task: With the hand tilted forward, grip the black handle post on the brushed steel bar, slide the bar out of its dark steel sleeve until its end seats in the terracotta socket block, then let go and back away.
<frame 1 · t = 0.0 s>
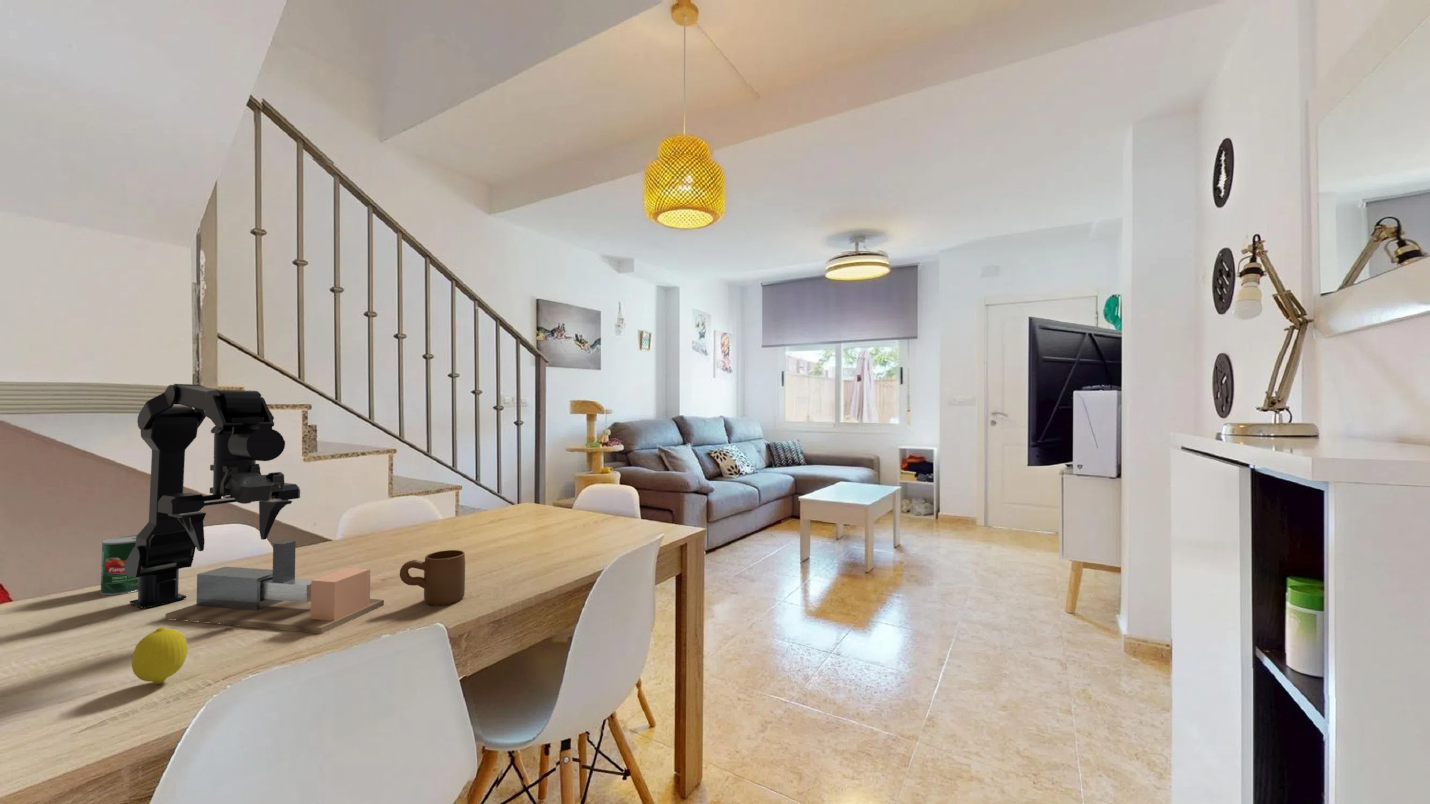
hand: (233, 544, 97), 15 cm above the table, tool pointing down, fingers open, 9 cm apart
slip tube: (264, 568, 105), point 8 cm above the table, slide at 0.0 cm
sleeve: (240, 587, 105), on the base board, point 4 cm above the table
canned tomato: (128, 590, 116), on the table
mug: (432, 603, 110), on the table
base board: (278, 611, 104), on the table
lemon: (159, 685, 77), on the table
socket block: (341, 593, 101), on the base board, point 4 cm above the table
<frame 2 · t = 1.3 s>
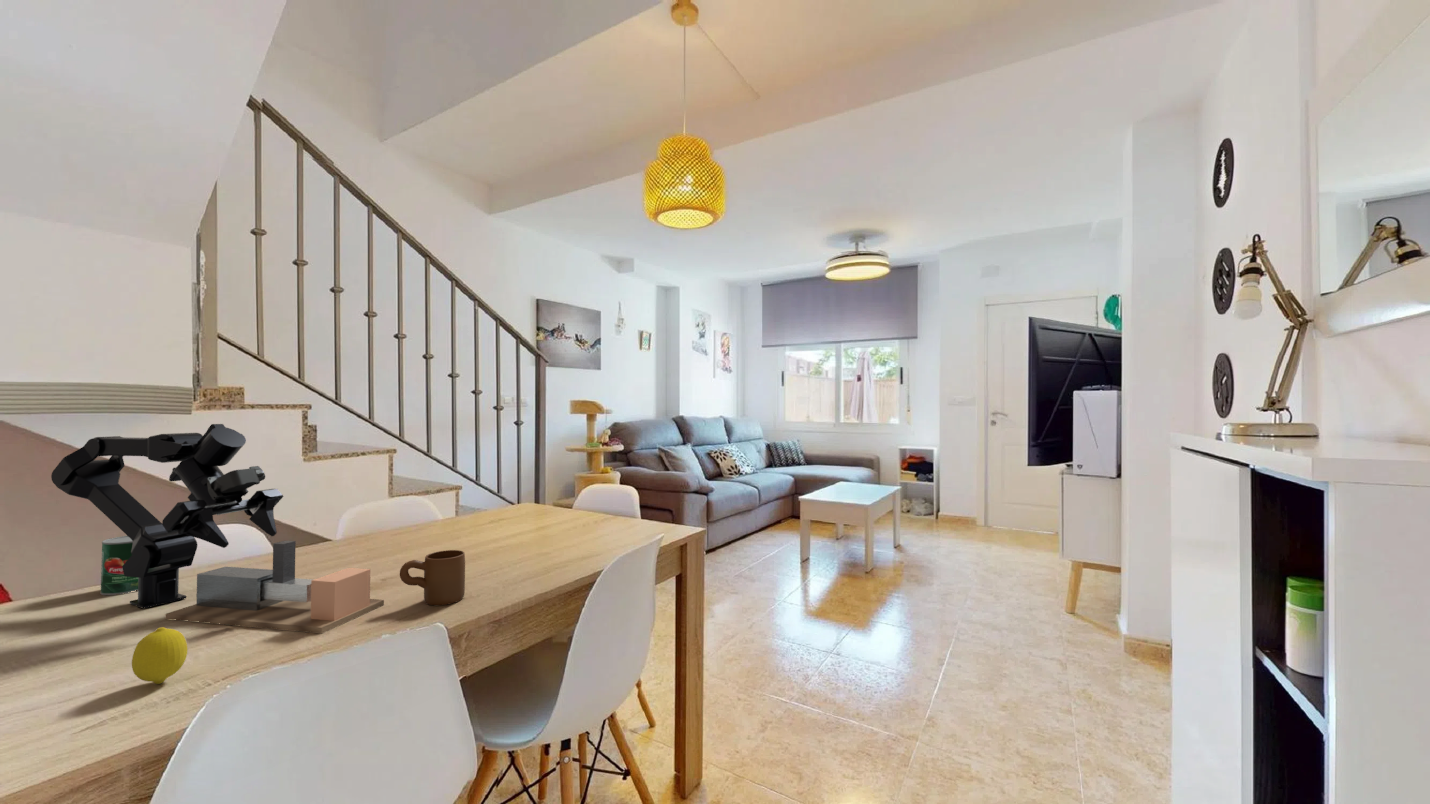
hand: (251, 540, 105), 14 cm above the table, tool tilted 45°, fingers open, 9 cm apart
nothing on the table moved.
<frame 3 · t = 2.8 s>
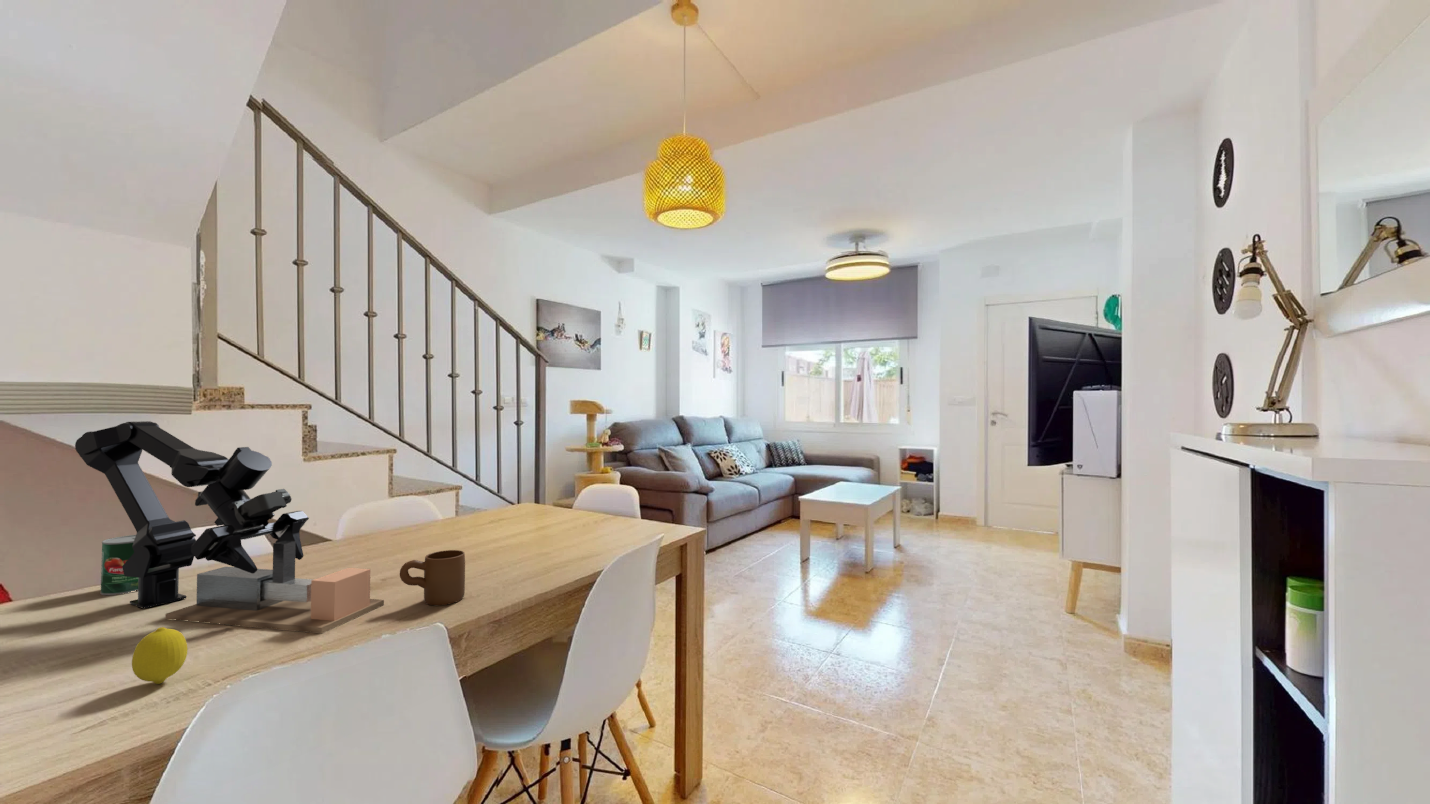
hand: (279, 564, 104), 9 cm above the table, tool tilted 45°, fingers open, 9 cm apart
nothing on the table moved.
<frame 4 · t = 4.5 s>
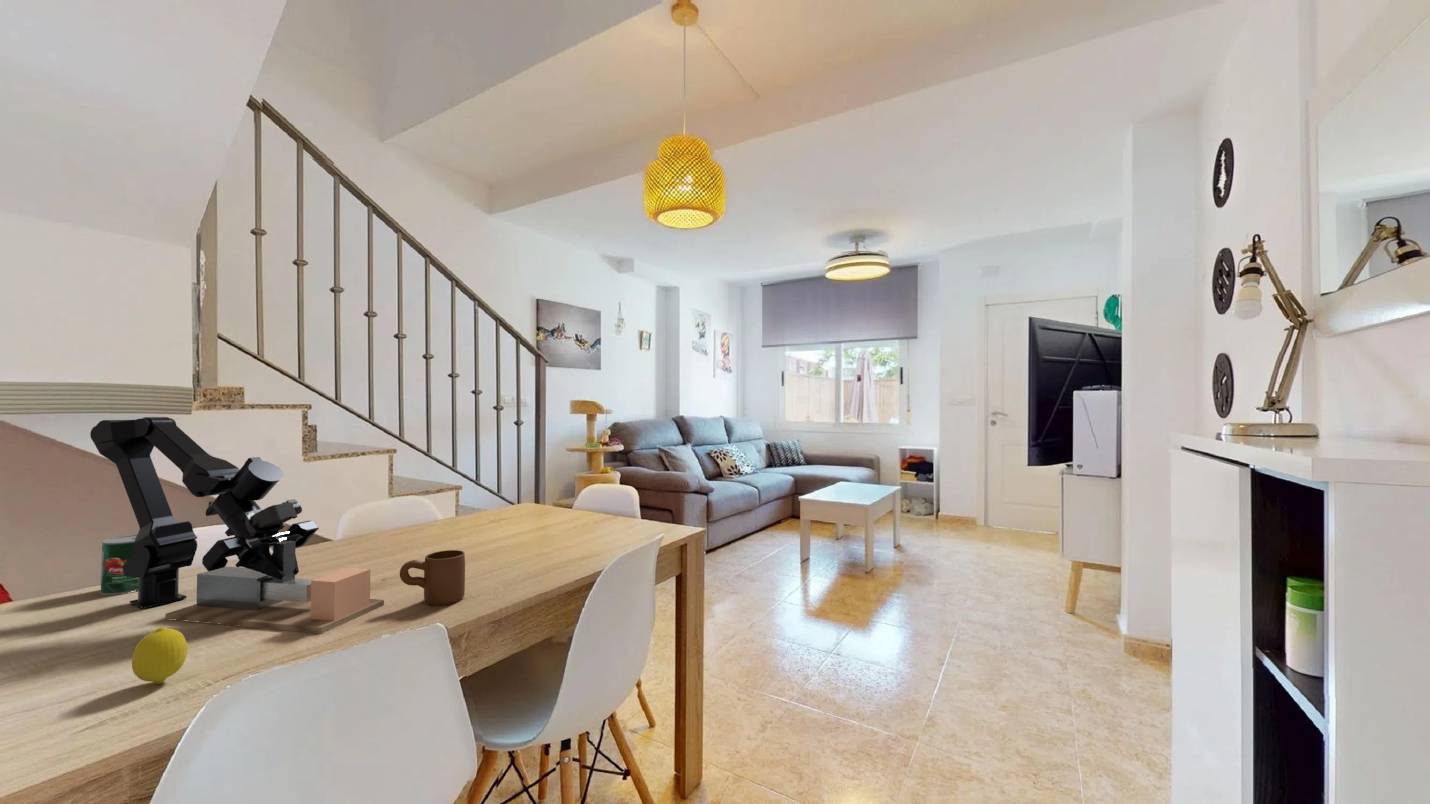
hand: (289, 575, 103), 7 cm above the table, tool tilted 45°, fingers closed on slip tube, 2 cm apart
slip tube: (264, 568, 105), point 8 cm above the table, slide at 0.0 cm, touching gripper
everything else where it was.
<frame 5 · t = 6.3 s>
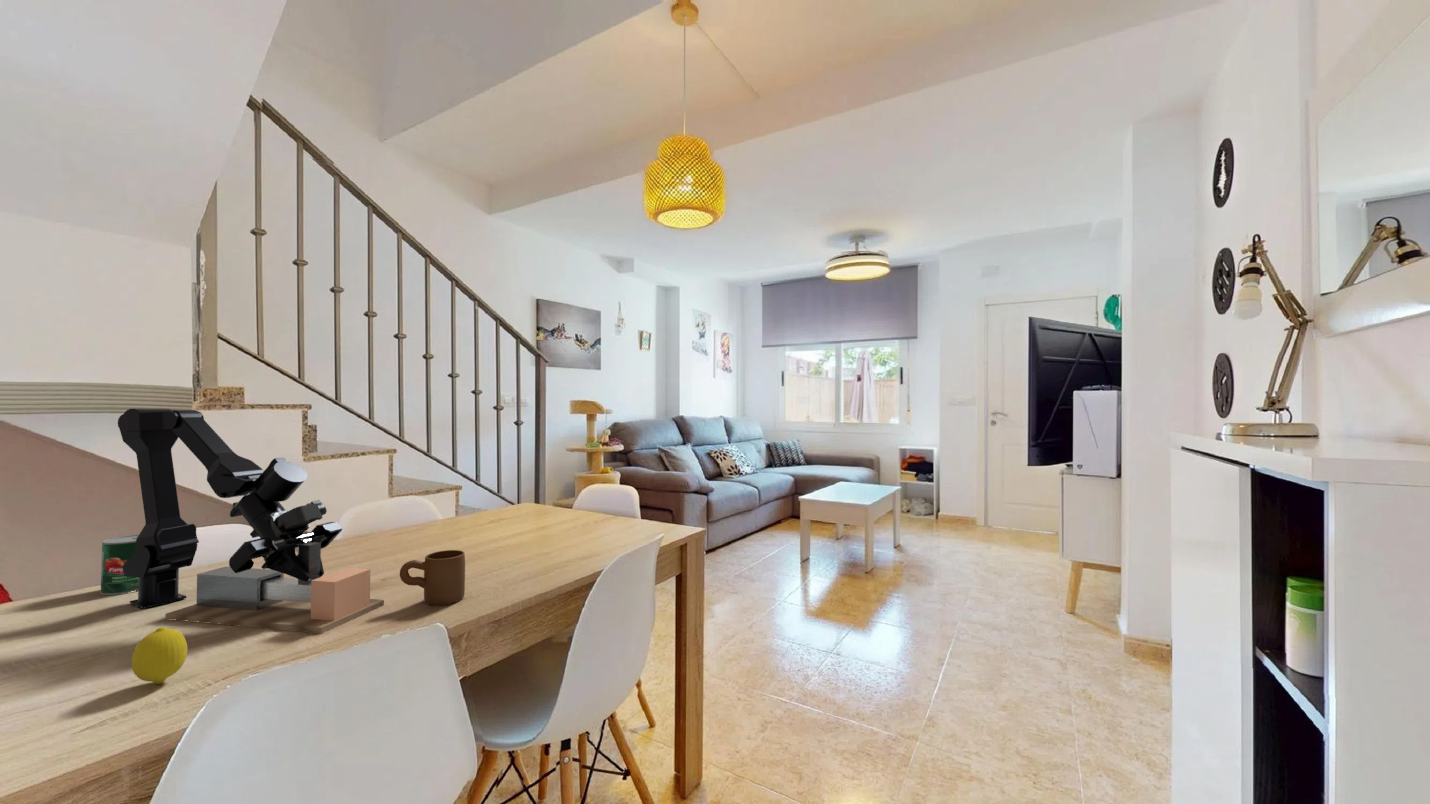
hand: (315, 577, 103), 7 cm above the table, tool tilted 45°, fingers closed on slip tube, 2 cm apart
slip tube: (289, 570, 104), point 8 cm above the table, slide at 5.8 cm, touching gripper
everything else where it was.
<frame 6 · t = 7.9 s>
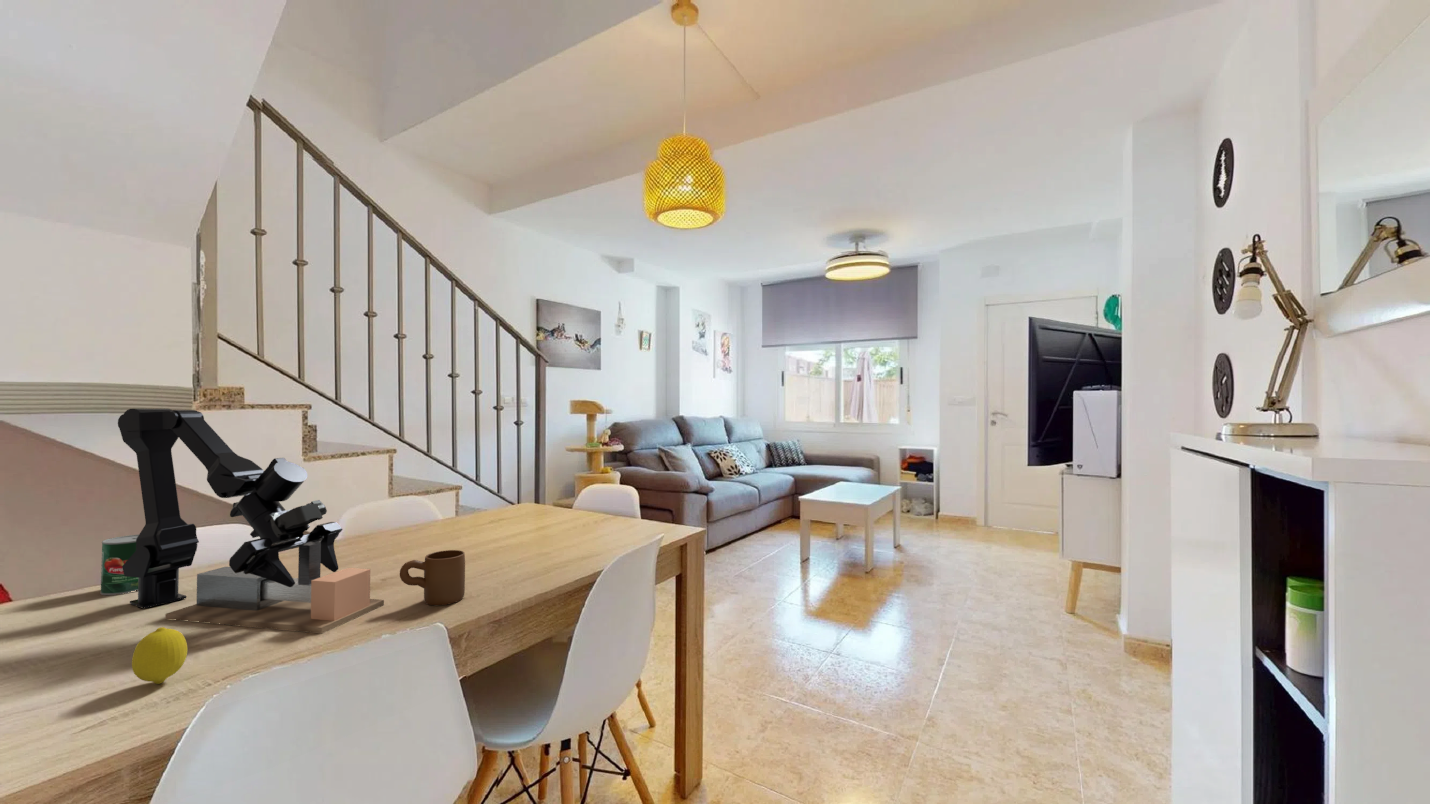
hand: (315, 577, 103), 7 cm above the table, tool tilted 45°, fingers open, 9 cm apart
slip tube: (289, 570, 104), point 8 cm above the table, slide at 5.8 cm
everything else where it was.
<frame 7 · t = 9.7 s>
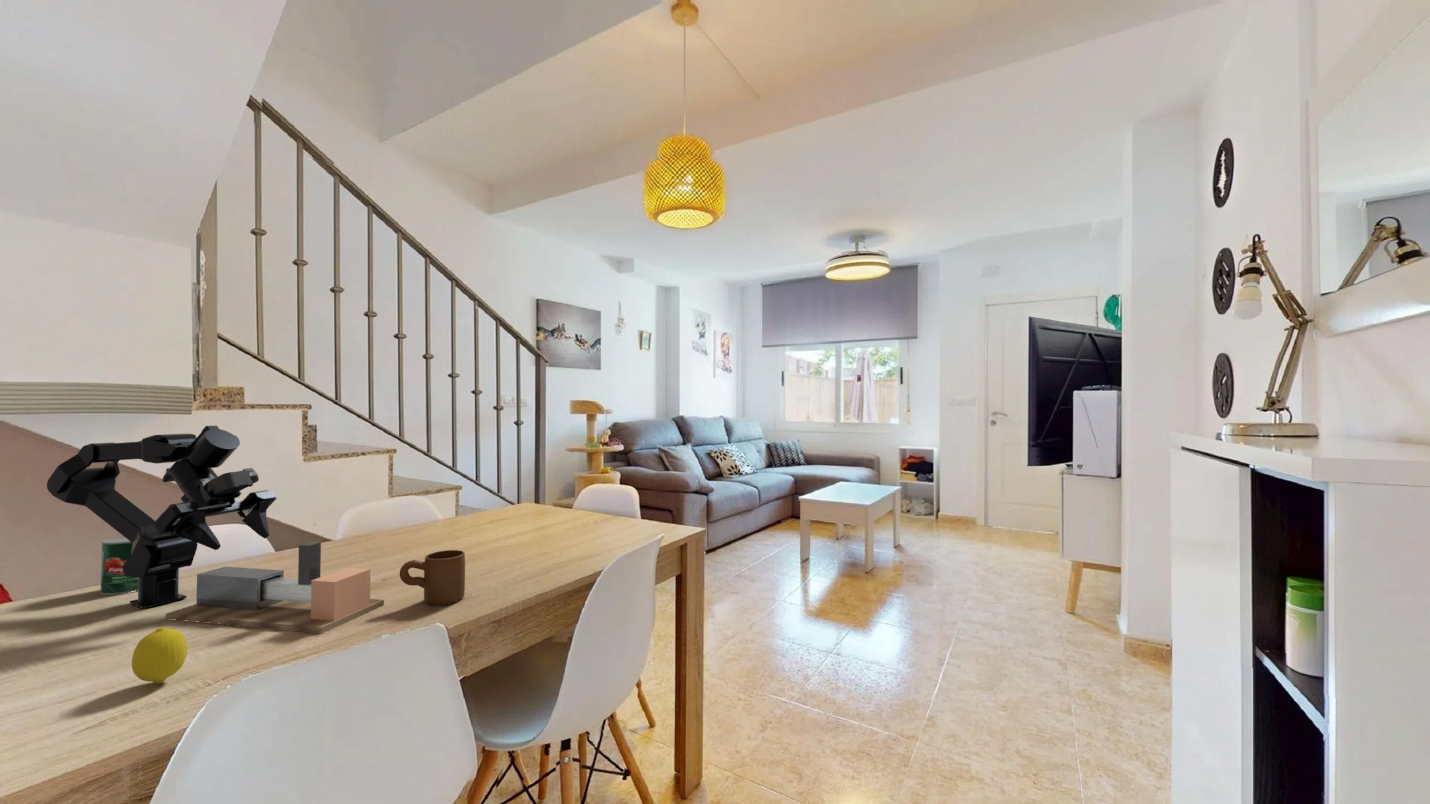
hand: (243, 542, 105), 13 cm above the table, tool tilted 45°, fingers open, 9 cm apart
nothing on the table moved.
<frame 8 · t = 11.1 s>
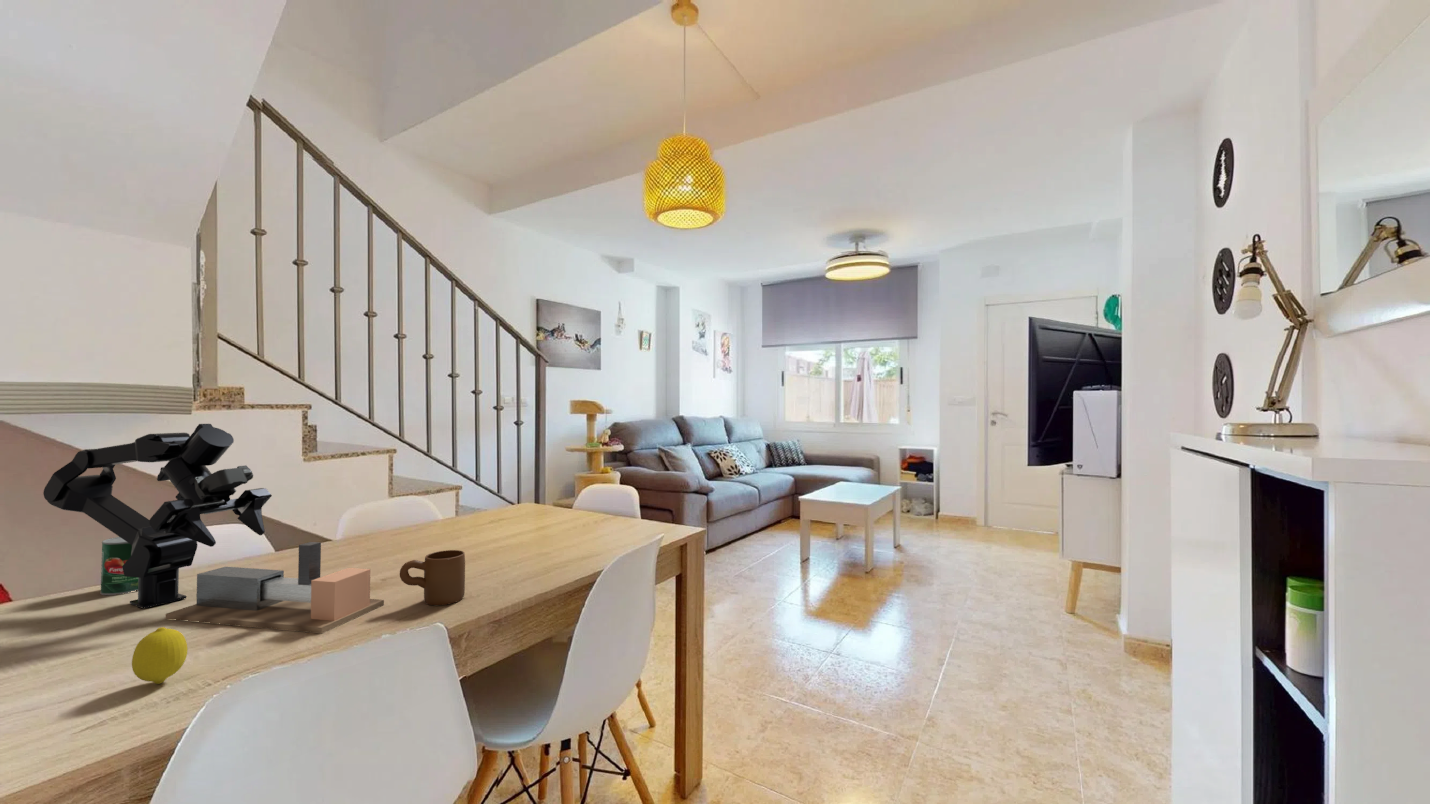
hand: (239, 539, 106), 14 cm above the table, tool tilted 45°, fingers open, 9 cm apart
nothing on the table moved.
at the end: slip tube slide at 5.8 cm; the gripper is holding nothing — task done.
